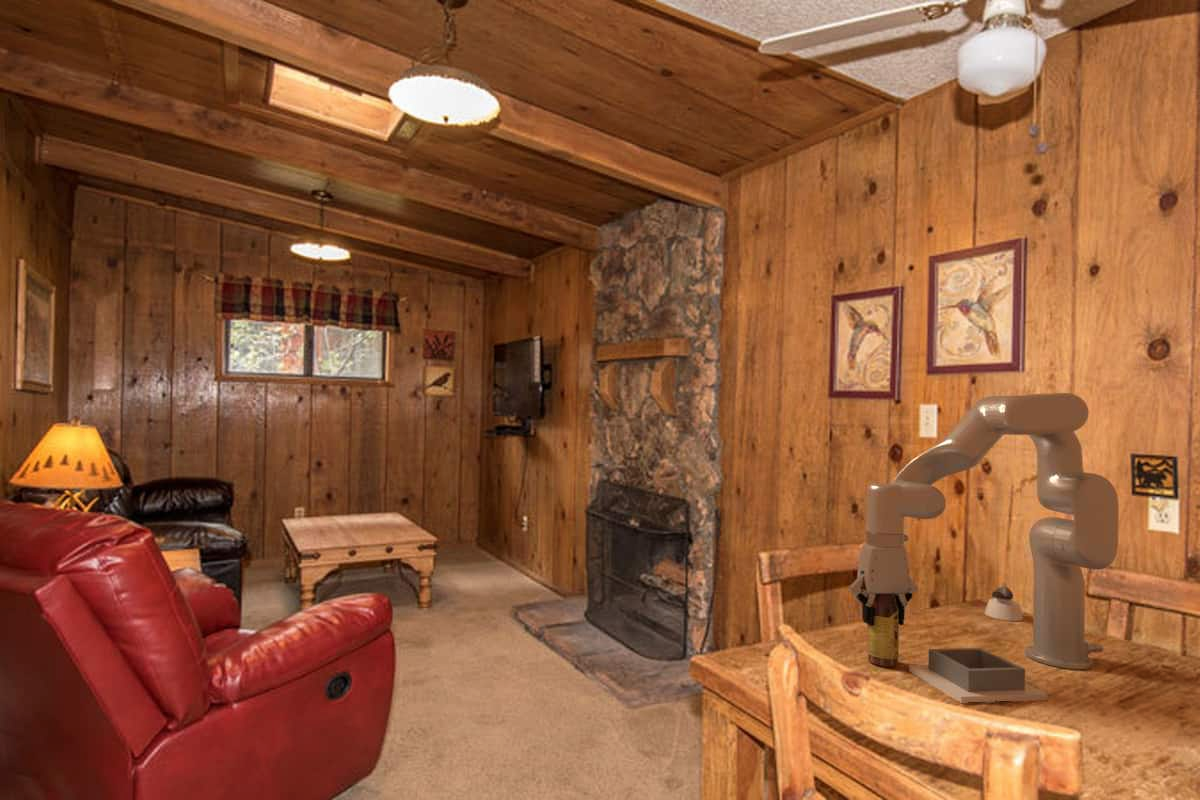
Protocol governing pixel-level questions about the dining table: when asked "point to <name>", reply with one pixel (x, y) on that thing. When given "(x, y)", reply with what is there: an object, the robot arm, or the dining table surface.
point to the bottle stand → (976, 676)
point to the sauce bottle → (884, 632)
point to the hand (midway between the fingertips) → (883, 622)
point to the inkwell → (1003, 606)
